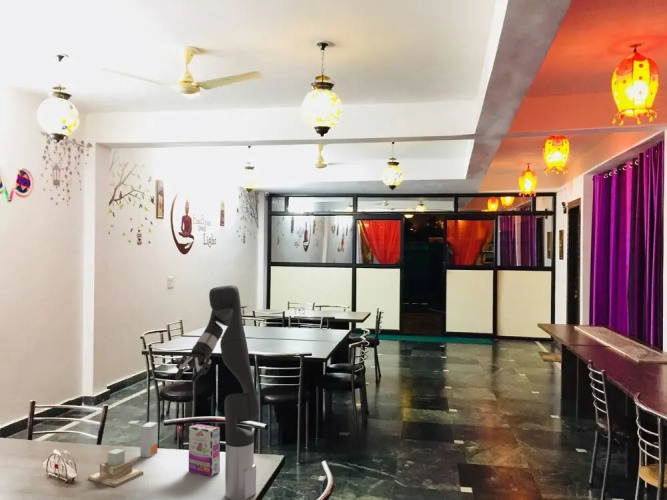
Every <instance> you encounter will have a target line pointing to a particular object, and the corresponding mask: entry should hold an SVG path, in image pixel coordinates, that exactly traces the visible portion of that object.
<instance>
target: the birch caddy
mask: <svg viewBox="0 0 667 500" xmlns="http://www.w3.org/2000/svg"><path fill="white" fill-rule="evenodd" d="M143 475H144V471H143V470H140V469H139V470H138V469H136V468H133V460H129V461H125V463H124V464H121V465H119V466H117V467H113V466H109V465H108V460H107V461H105V462H102V463H100V464H99V471H98V472H96V473H95V472H94V473H92V474H91V475H88V476H87V477H88V480H90V481H93V482H97V483H100V484H103V485H108V486H111V487H114V488H117V487H119V486H121V485H123V484H125V483H128V482H130V481H132V480H134V479H136V478H138V477H140V476H143Z"/></svg>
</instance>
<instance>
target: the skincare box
mask: <svg viewBox="0 0 667 500" xmlns="http://www.w3.org/2000/svg"><path fill="white" fill-rule="evenodd" d="M158 427H159V422H152V421H148V422H146V423H144V424H143V425H141V426H140V450H139V451H140V452H139V453H140V457H141V458H150V457H152V456H154V455H155V454H156V453H158V442H159V441H158V438H159V437H158V436H159V433H158V432H159V428H158Z"/></svg>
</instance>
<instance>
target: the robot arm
mask: <svg viewBox="0 0 667 500" xmlns="http://www.w3.org/2000/svg"><path fill="white" fill-rule="evenodd" d="M208 294H209V295H208V298H209V305H210V309H211V312H210V313H211V314H210V317H209V321H208V324H207V326H206V327H205V328H204V331H203V332H202V334H201V335H200V337H199V338H198V340H197V341H196V343H195V345H194V346H193V348H192V349H191V351H190V352H191V354H190V355H189V356H186V355H185V354H184V355H182V357H181V358H180V359H179V361H178V363H177V364H176V366H175V368H176V369H177V372H176V373H175V375H174V379H175V380H176V381H180V379H181V378H182V376H183V374H184V372H186V371H188V370H190V369H195V370H196V371H195V372H194V374H193V376H192V377H191V380H190V381H192V383H193V384H194V383H196V382H198V381H199V378H200V377H201V376H202V375H206V374H207V373H208V371H209V370H210V367H211V366H212V363H213V362H212V360H211V358H210V357H211V355H212V353H213V351H214V350H215V348H216V347H217V344H218V342H219V340H220V342H219V343H220V345H219V347H220V351H221V352H220V353H221V359H222V361H223V363H224V365H225V366H226V367H227V369H228V370H229V371H230V372H231V373H232V375H233V376H234V377H236V379H237V381H238V382H239V383H240V386H241V387H242V389H243V390H242V391H243V392H241V393H239V392H238V393H232V394H227V395H226V396H225V399H224V420H225V421H224V422H225V429H224V431H225V432H224V433H225V435H224V436H225V467H224V468H225V475H224V476H225V487H224V488H225V489H224V490H225V491H224V493H225V495H224V496H225V497H226V499H228V500H249V499H250V498H252V497H253V496H254V495H256V494H257V465H256V464H254V463H255V461H254V460H255V459H254V456H255V455H254V454H255V453H254V451H255V449H254V448H255V447H254V445H255V444H254V443H255V436H254V432H253V431H251V430H249V429H246V428H242V427H239V426H237V424H238V423H243V422H250V421H255V420H257V419H258V418H259V414H260V405H259V399H258V395H257V391H256V387H255V384H254V379H253V374H252V369H251V364H250V363H251V362H250V356H249V349H248V348H249V347H248V343H247V338H246V333H245V328H244V327H245V326H244V324H243V323H244V322H243V314H242V307H241V297H240V291H239V288H238V287H237V285H235V284H230V285H223V286H222V285H221V286H216V287H213V288H211V289H210V290H209V293H208ZM218 323H219V324H218ZM220 324H221V325H223V326H225V327H226V329H225V330H223V328H222V326H221V325H220Z"/></svg>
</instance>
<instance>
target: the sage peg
mask: <svg viewBox="0 0 667 500" xmlns="http://www.w3.org/2000/svg"><path fill="white" fill-rule="evenodd" d="M125 451H126V450H124V449H120V448H115V449H112V450H110V451H108V452H107V461H108V465H109V466H113V467H117V466H119V465H121V464H124V463H126V461H125V459H126V458H125V457H126V454H125V453H126V452H125Z"/></svg>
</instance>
